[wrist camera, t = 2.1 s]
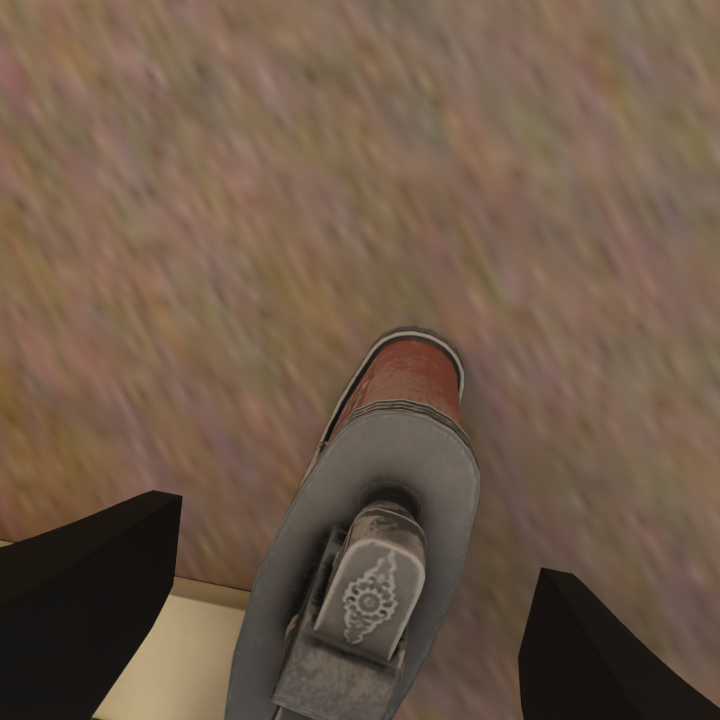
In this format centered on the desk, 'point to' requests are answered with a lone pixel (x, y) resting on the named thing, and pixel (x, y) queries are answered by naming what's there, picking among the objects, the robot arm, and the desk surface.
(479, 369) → the desk surface
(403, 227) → the desk surface
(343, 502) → the lighter
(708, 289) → the desk surface
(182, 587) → the grid board
